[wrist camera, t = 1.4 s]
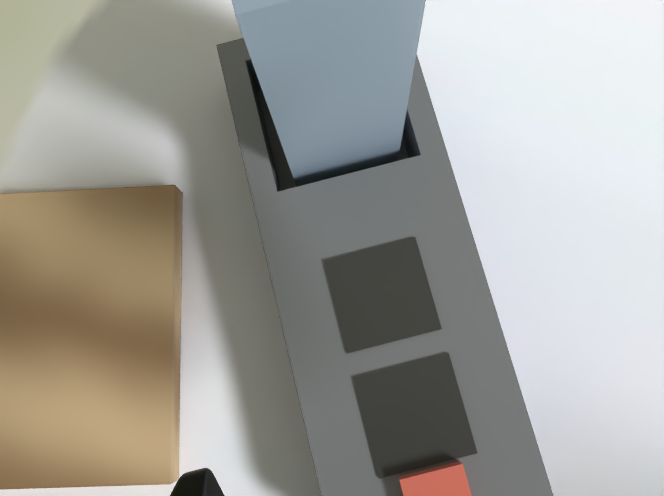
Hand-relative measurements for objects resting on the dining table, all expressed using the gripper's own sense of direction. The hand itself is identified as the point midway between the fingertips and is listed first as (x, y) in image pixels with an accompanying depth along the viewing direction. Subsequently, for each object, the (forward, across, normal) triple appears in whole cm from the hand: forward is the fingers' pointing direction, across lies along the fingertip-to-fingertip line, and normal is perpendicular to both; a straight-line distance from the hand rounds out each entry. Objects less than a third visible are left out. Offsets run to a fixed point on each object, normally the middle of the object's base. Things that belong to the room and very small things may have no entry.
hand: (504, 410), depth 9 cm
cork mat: (+13, +14, +6) cm, 20 cm away
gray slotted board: (+13, +1, +6) cm, 14 cm away
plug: (+17, +1, +2) cm, 17 cm away
